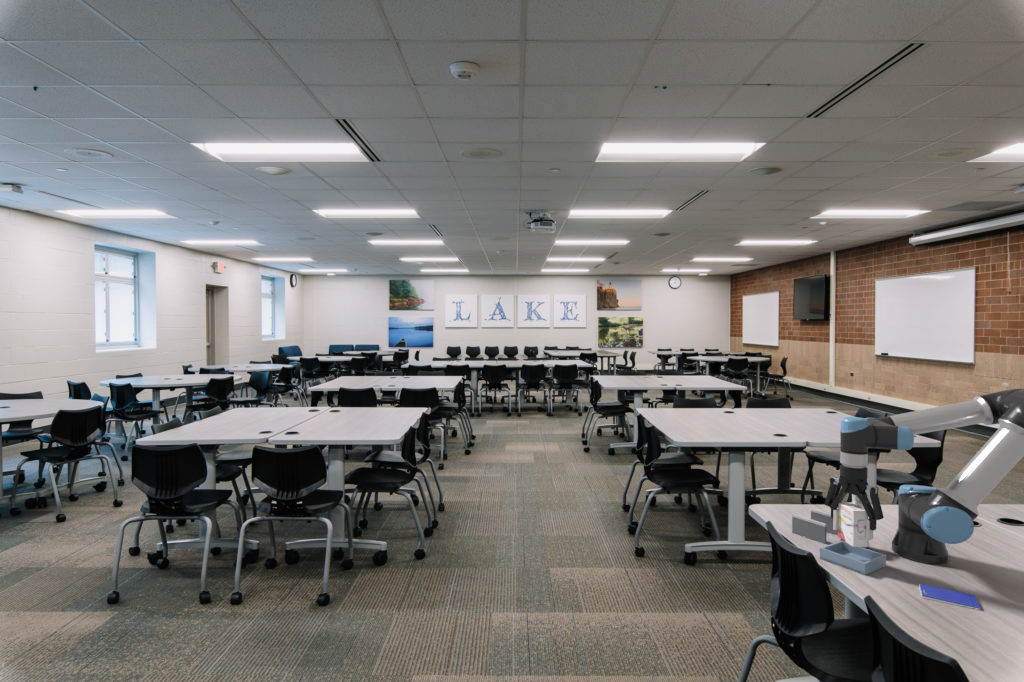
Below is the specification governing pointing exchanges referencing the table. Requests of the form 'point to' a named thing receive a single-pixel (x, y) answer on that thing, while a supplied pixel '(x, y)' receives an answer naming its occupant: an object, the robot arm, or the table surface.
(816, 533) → the pair of grey slabs
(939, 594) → the hard drive
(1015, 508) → the table surface
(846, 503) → the ink cartridge box
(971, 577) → the table surface
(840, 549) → the tray
